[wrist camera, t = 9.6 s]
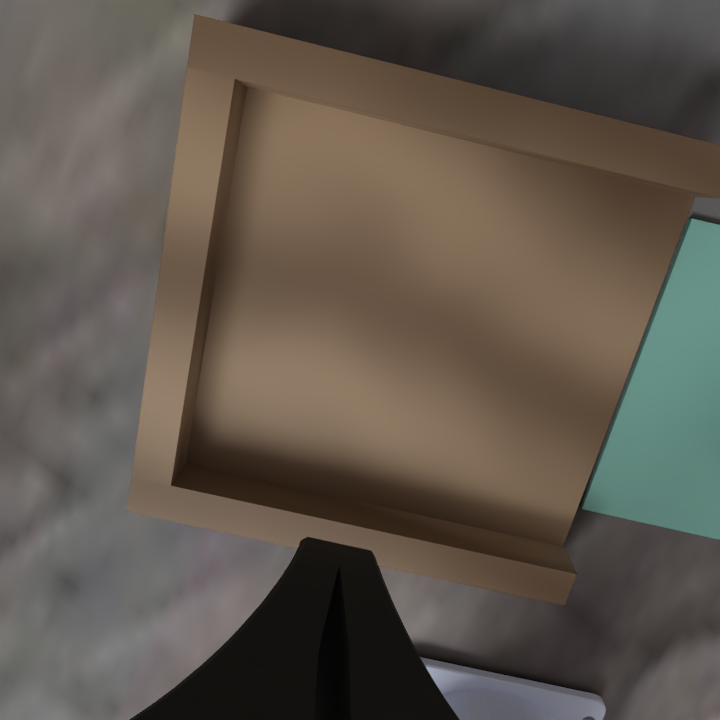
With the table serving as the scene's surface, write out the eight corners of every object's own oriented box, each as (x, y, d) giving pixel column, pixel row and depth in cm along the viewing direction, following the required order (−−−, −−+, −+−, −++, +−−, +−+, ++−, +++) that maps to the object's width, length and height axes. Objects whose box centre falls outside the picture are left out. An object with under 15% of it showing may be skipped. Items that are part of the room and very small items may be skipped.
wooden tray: (544, 558, 22) (564, 605, 20) (154, 473, 21) (126, 511, 19) (693, 153, 18) (742, 150, 16) (219, 36, 17) (194, 14, 15)
